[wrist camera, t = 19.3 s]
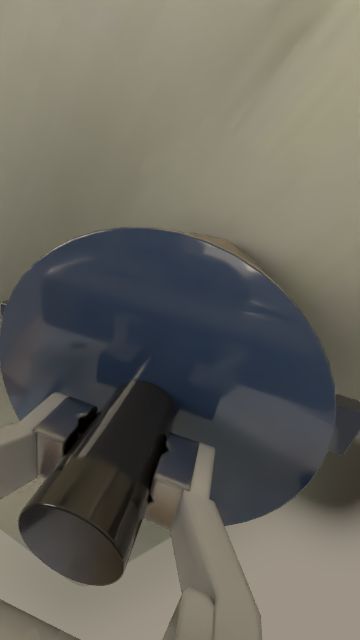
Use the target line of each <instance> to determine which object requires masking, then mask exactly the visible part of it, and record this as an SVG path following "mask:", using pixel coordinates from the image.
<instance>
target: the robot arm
mask: <svg viewBox="0 0 360 640" xmlns="http://www.w3.org/2000/svg"><path fill="white" fill-rule="evenodd" d="M97 411H98V407H96V406H94V405H91V404H89V403H86V402H84V401H81V400H79V399H76V398H73V397H71V396H68V395H65V394H62V393H60V392H55V393H52V394H51V395H50V396H49V397H48V398H46V399H45V400H44V401H43V402H42V403H41V404H40V405H38V406H37V407H36V408H35V409H34V410H33V411H31V412H30V413H29V414H28V415H27V416H26V417H24V418H23V419H22V420H21V421H20V422H19V423H18V424H16V425H15V424H13V423H11V424H8V425H5V426H3V427H0V499H2V498H3V497H5V496H7V495H8V494H10V493H12V492H13V491H15V490H17V489H18V488H20V487H22V486H23V485H25V484H27V483H28V482H30V481H32V480H33V479H35V478H37V475H38V476H41V477H43V478H46V479H47V477H48V476H49V475H50V473H51V472H52V471H53V470H54V468H55V467H56V466H57V464H58V463H59V462H60V461H61V459H62V458H63V457H64V456H65V454H66V453H67V452H68V450H69V449H70V448H71V447H72V445H73V444H74V443H75V441H76V440H77V439H78V438H79V436H80V435H81V434H82V433H83V431H84V430H85V429H86V427H87V426H88V425H89V424H90V422H91V421H92V420H93V418H94V417H95V416H96V415H97ZM214 456H215V448H214V447H212V446H209V445H206V444H203V443H200V442H198V441H195V440H192V439H189V438H186V437H183V436H180V435H177V434H174V433H171V432H170V433H169V435H168V438H167V441H166V444H165V448H164V451H163V454H162V455H161V457H160V460H159V463H158V466H157V469H156V472H155V475H154V478H153V482H152V486H151V489H150V495H151V496H150V499H149V502H148V505H147V507H146V510H145V515H144V518H145V519H147V520H149V521H151V522H154V523H156V524H158V525H160V526H162V527H165V528H167V529H169V530H171V532H170V533H171V538H172V543H173V548H174V554H175V559H176V564H177V570H178V575H179V581H180V586H181V592H182V596H181V598H180V600H179V602H178V605H177V607H176V610H175V612H174V614H173V616H172V618H171V621H170V623H169V625H168V628H167V630H166V632H165V635H164V637H163V639H162V640H262V629H261V615H260V612H259V610H258V608H257V605H256V603H255V600H254V598H253V595H252V593H251V591H250V588H249V586H248V583H247V580H246V578H245V576H244V573H243V571H242V568H241V566H240V563H239V561H238V558H237V556H236V553H235V551H234V548H233V546H232V544H231V541H230V539H229V536H228V534H227V531H226V529H225V526H224V524H223V521H222V519H221V516H220V514H219V512H218V509H217V507H216V504H215V502H214V501H212V500H210V499H209V497H210V489H211V481H212V473H213V464H214ZM0 640H80V639H78V638H76V637H74V636H72V635H70V634H68V633H66V632H64V631H62V630H60V629H58V628H56V627H54V626H52V625H50V624H48V623H46V622H44V621H42V620H40V619H38V618H36V617H34V616H32V615H30V614H28V613H26V612H24V611H22V610H20V609H18V608H16V607H14V606H12V605H10V604H8V603H6V602H4V601H2V600H1V599H0Z"/></svg>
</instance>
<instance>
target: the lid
mask: <svg viewBox="0 0 360 640" xmlns="http://www.w3.org/2000/svg"><path fill="white" fill-rule="evenodd" d="M0 365H1V371H2V377H3V380H4V384H5V388H6V391H7V394H8V396H9V399H10V401H11V404H12V406H13V409H14V411H15V413H16V415H17V416H18V418H19V420H20V421H21V420H22V419H23V418H24V417H26V416H27V415H28V414H29V413H30V412H31V411H33V410H34V409H35V408H36V407H37V406H38V405H40V404H41V403H42V402H43V401H44V400H45V399H46V398H48V397H49V396H50V395H51V394H52V393H55V392H60V393H62V394H65V395H68V396H71V397H73V398H76V399H79V400H81V401H84V402H86V403H89V404H91V405H94V406H96V407H98V411H97V415H96V416H95V417H94V418H93V420H92V421H91V422H90V424H89V425H88V426H87V427H86V429H85V430H84V431H83V433H82V434H81V435H80V436H79V438H78V439H77V440H76V441H75V443H74V444H73V445H72V447H71V448H70V449H69V450H68V452H67V453H66V454H65V456H64V457H63V458H62V459H61V461H60V462H59V463H58V464H57V466H56V467H55V468H54V470H53V471H52V472H51V473H50V475H49V476H48V477H47V479H46V480H45V481H44V482H43V484H42V485H41V486H40V487H39V489H38V490H37V491H36V493H35V494H34V495H33V496H32V498H31V499H30V500H29V502H28V503H27V504H26V505H25V507H24V508H23V509H22V511H21V512H20V514H19V517H18V529H19V532H20V535H21V537H22V539H23V540H24V542H25V544H26V545H27V546H28V548H29V549H30V550H31V551H32V552H33V553H34V554H35V555H36V556H37V557H38V558H39V559H40V560H41V561H42V562H43V563H45V564H46V565H47V566H49V567H50V568H51V569H53V570H55V571H56V572H58V573H60V574H61V575H63V576H65V577H67V578H70V579H72V580H75V581H77V582H80V583H84V584H89V585H96V586H105V585H110V584H113V583H115V582H117V581H118V580H119V579H120V578H121V577H122V575H123V574H124V571H125V568H126V566H127V563H128V560H129V557H130V554H131V551H132V548H133V545H134V542H135V539H136V537H137V534H138V531H139V528H140V525H141V522H142V519H143V518H144V515H145V510H146V507H147V505H148V502H149V499H150V496H151V495H150V489H151V486H152V482H153V478H154V475H155V472H156V469H157V466H158V463H159V460H160V457H161V455H162V454H163V451H164V448H165V444H166V441H167V438H168V435H169V433H170V432H171V433H174V434H177V435H180V436H183V437H186V438H189V439H192V440H195V441H198V442H200V443H203V444H206V445H209V446H212V447H214V448H215V456H214V464H213V473H212V481H211V489H210V497H209V499H210V500H212V501H214V502H215V504H216V507H217V509H218V512H219V514H220V516H221V519H222V521H223V524H224V526H228V525H233V524H238V523H242V522H247V521H250V520H252V519H256V518H258V517H261V516H264V515H266V514H268V513H270V512H272V511H274V510H276V509H278V508H280V507H281V506H283V505H284V504H286V503H287V502H289V501H290V500H292V499H293V498H294V497H295V496H296V495H298V493H300V492H301V491H302V490H303V489H304V488H305V487H306V486H307V485H308V484H309V483H310V481H311V480H312V479H313V477H314V476H315V475H316V473H317V472H318V470H319V469H320V467H321V465H322V463H323V461H324V459H325V457H326V455H327V453H328V451H329V448H330V444H331V441H332V437H333V434H334V429H335V419H336V396H335V385H334V381H333V377H332V373H331V369H330V365H329V361H328V359H327V357H326V355H325V352H324V350H323V348H322V345H321V343H320V341H319V338H318V337H317V335H316V333H315V332H314V330H313V329H312V327H311V326H310V324H309V322H308V321H307V319H306V318H305V316H304V314H303V313H302V312H301V310H300V309H299V307H298V306H297V305H296V304H295V303H294V302H293V300H292V299H291V298H290V297H289V296H288V295H287V294H286V292H285V291H284V290H283V289H282V288H281V287H280V286H279V285H278V284H277V283H276V282H274V281H273V280H272V279H271V278H270V277H269V276H268V275H266V274H265V273H264V272H263V271H262V270H261V269H259V268H258V267H256V266H255V265H253V264H252V263H250V262H249V261H247V260H246V259H244V258H243V257H241V256H240V255H238V254H236V253H235V252H233V251H231V250H228V249H226V248H224V247H222V246H220V245H218V244H216V243H213V242H211V241H209V240H206V239H203V238H200V237H196V236H193V235H190V234H187V233H184V232H179V231H172V230H166V229H160V228H138V227H122V228H114V229H107V230H100V231H95V232H92V233H89V234H85V235H82V236H79V237H76V238H73V239H71V240H69V241H67V242H65V243H63V244H61V245H59V246H57V247H55V248H54V249H52V250H51V251H49V252H48V253H47V254H45V255H44V256H43V257H41V258H40V259H39V260H37V261H36V262H35V263H34V265H33V266H32V267H31V268H30V269H29V270H28V271H27V272H26V273H25V274H24V275H23V276H22V278H21V279H20V281H19V282H18V284H17V285H16V287H15V288H14V290H13V292H12V294H11V296H10V298H9V301H8V303H7V305H6V307H5V311H4V315H3V319H2V323H1V329H0Z"/></svg>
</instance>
